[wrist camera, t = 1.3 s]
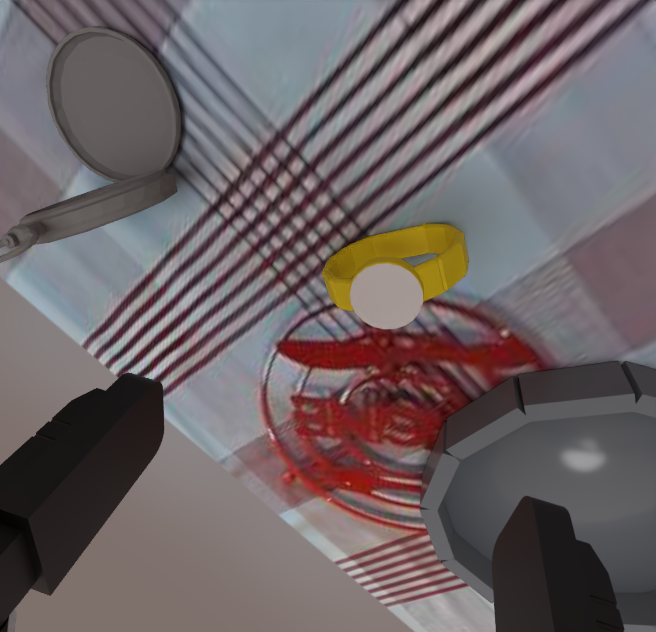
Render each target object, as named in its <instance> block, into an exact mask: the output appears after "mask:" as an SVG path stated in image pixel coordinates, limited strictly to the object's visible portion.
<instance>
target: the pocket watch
mask: <svg viewBox="0 0 656 632" xmlns="http://www.w3.org/2000/svg"><path fill="white" fill-rule="evenodd" d="M46 80H47V93H48V105H49V108H50V111H51V115H52V118H53V121H54V123H55V125H56V127H57V129H58V131H59V134H60V136H61V137H62V139H63V140H64V141H65V143H66V144H67V145H68V147H69V148H70V150H71V151H72V152H73V154H74V155H75V156H76V158H77V159H78V160H79V161H80V162H82V163H83V164H84V165H85V166H86V167H87V168H89V169H90V170H91V171H93V172H94V173H96V174H98V175H100V176H101V177H103V178H105V179H107V180H110V181H114V182H117V183H114V184H111V185H107V186H104V187H101V188H98V189H96V190H93V191H90V192H87V193H84V194H81V195H78V196H75V197H73V198H70V199H67V200H64V201H62V202H59V203H56V204H54V205H51V206H48V207H45V208H43V209H40V210H37V211H35V212H32V213H30V214H28V215H26V216H24V217H23V218H22V219H21V220H20V224H19V225H18V226H14V227H12V228H11V229H10V230H9V231H8V232H7V233H6V234H5V235H3V237H2V240H1V241H0V248H1V247H3V246H5V245H6V246H7V247H9V248H13V247H16V246H20V247H18V248H17V249H15V250H13V251H11V252H9V253H7V254H4V255H2V256H0V262H3V261H6V260H9V259H11V258H13V257H15V256H17V255H19V254H21V253H22V252H24V251H25V250H27V249H29V248H30V247H31V246H33V245H35V244H43V243H49V242H53V241H56V240H60V239H63V238H67V237H70V236H73V235H77V234H80V233H84V232H87V231H90V230H92V229H95V228H98V227H100V226H103V225H106V224H109V223H111V222H114V221H117V220H119V219H122V218H125V217H127V216H130V215H133V214H135V213H138V212H140V211H143V210H145V209H147V208H149V207H151V206H154V205H156V204H158V203H160V202H162V201H164V200H166V199H167V198H169V197H170V196H172V195H173V194H175V193H176V192H177V187H176V180H175V177H174V174H173V173H166V172H165V169H166V168H167V167H168V166H169V165H170V163H171V162H172V160H173V158H174V156H175V154H176V152H177V149H178V145H179V141H180V137H181V115H180V108H179V104H178V100H177V97H176V94H175V91H174V89H173V86H172V84H171V82H170V80H169V78H168V76H167V74H166V72H165V70H164V69H163V68H162V66H161V65H160V64H159V63H158V61H157V60H156V59H155V57H154V56H153V55H152V53H150V52H149V51H148V50H147V49H146V48H144V47H143V46H142V45H141V44H139V43H138V42H137V41H136V40H135V39H133V38H132V37H129V36H128V35H127V34H123V33H120V32H118V31H115V30H111V29H107V28H103V27H88V28H82V29H79V30H76V31H74V32H71V33H70V34H69V35H67V36H66V37H65V38H64V39H62V40H61V42H60V43H59V44H58V46H57V47H56V48H55V50H54V52H53V54H52V56H51V59H50V61H49V66H48V71H47V77H46Z"/></svg>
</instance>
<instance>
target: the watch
mask: <svg viewBox="0 0 656 632" xmlns="http://www.w3.org/2000/svg"><path fill="white" fill-rule="evenodd" d="M427 253H436V254H439V255H438V256H436V257H435V258H434V259H431V260H429V261H426V262H424V263H421V264H419V265H416V266H414V267H413V266H412V265H411V264H409V263H407V262H406V261H404V260H402V258H407V257H412V256H417V255H422V254H427ZM468 263H469V259H468V253H467V248H466V243H465V237H464V234H463V232H462V231H460V230H458V229H456V228H455V227H453V226H451V225H448V224H432V223H427V224H426V223H423V225H420V226H415V227H410V228H406V229H401V230H397V231H392V232H387V233H383V234H378V235H374V236H368V237H366V238H364V239H361V240H359V241H357V242H355V243H352V244H350V245H348V246H347V247H344V248H343V249H342V250H340V251H339V252H337V253H336V254H335V255H333V256H332V257H331V258H330V259H329V260H328V261H327V263H326V265H325V267H324V269H323V271H322V275H323V278H324V281H325V284H326V287H327V290H328V293H329V296H330V299H331V300H332V301H333V302H334V303H335V304H336V305H337V306H338V308H341V309H343V310H348V311H354V312H355V313H356V314H357V315H358V316H359V317H360V319H361V320H363V321H364V322H366V323H367V324H369V325H371V326H373V327H376V328H380V329H396V328H399V327H403V326H405V325H407V324H408V323H410V322H411V321H413V320H414V319H415V317H416V316H417V315H418V313H419V312H420V310H421V308H422V304H423V302H424V301H426V300H428V299H431V298H433V297H435V296H438V295H440V294H443V292H444V291H447V290H449V289H450V288H451V287H452V286H453V285H455V284H456V283H457V282H458V281H460V280H461V279H462V278H463V277H464V276H465V275H466V273H467V269H468ZM351 277H353V278H352V279H351Z"/></svg>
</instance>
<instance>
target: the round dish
mask: <svg viewBox="0 0 656 632" xmlns="http://www.w3.org/2000/svg"><path fill="white" fill-rule="evenodd" d="M518 376H519V381H520V383H519V382H518V381H517V380H516V379H515V378H514V377H511V378H509V379H508V380H506V381H505V382H503V383H501V384H500V385H498V386H497V387H495V388H493V389H492V390H490V391H489V392H487V393H486V394H484V395H482V396H481V397H479V398H478V399H476V400H475V401H473V402H471V403H470V404H468V405H467V406H465V407H464V408H462V409H460V410H459V411H457V412H456V413H454V414H453V415H451V416H449V417H448V418H447V422H445V421H444V423H443V425H442V428H441V430H440V432H439V435H438V437H437V440H436V442H435V445H434V447H433V449H432V452H431V454H430V457H429V459H428V462H427V464H426V466H425V469H424V471H423V476H422V487H421V498H420V512H421V515H422V517H423V520H424V523H425V525H426V528H427V531H428V533H429V536H430V539H431V541H432V544H433V547H434V549H435V552H436V555H437V557H438V560H441V564H443V565H444V566H445V567H446V568H448V569H449V570H450V571H451V572H453V573H454V574H455V575H456V576H458V577H459V578H460V579H461V580H463V581H464V582H465V583H466V584H468V585H469V586H470V587H471V588H473V589H474V590H475V591H477V592H478V593H479V594H480V595H482V596H483V597H484V598H485V599H487V600H488V601H489V602H490V603H493V602H494V594H493V579H492V556H493V550H494V546H495V543H496V540H497V538H498V536H499V534H500V533H501V531H502V530H503V528H504V526H505V525H506V523H507V521H508V520H509V518H510V517H511V515H512V513H513V512H514V510H515V508H516V507H517V505H518V504H519V502H520V500H521V499H522V498H523V497H524V496H530V497H533V498H537V499H540V500H543V501H546V502H550V503H553V504H556V505H560V506H563V507H565V508H566V509H567V510H568V512H569V514H570V517H571V521H572V525H573V529H574V533H575V537H576V540H579V541H583V542H586V543H589V544H590V545H591V546H592V548H593V550H594V551H595V553H596V554H597V556H598V557H599V559H600V561H601V562H602V564H603V565H604V567H605V568H606V570H607V572H608V573H609V577H610V580H611V584H612V587H613V591H614V594H615V598H616V601H617V605H616V607H617V609H619V611H620V615H621V618H622V622H623V625H624V628H625V630H624V632H656V370H655V369H652V368H648V367H644V366H640V365H637V364H633V363H629V362H625V363H624V364H623V366H622V368H621V366H620V364H619V362H618V361H615V362H607V363H600V364H593V365H585V366H578V367H570V368H563V369H555V370H548V371H540V372H533V373H525V374H518Z"/></svg>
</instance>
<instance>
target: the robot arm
mask: <svg viewBox="0 0 656 632" xmlns="http://www.w3.org/2000/svg"><path fill="white" fill-rule="evenodd" d="M163 434H164V407H163V386H162V384H161V383H160V382H158V381H155V380H152V379H149V378H145V377H142V376H139V375H136V374H132V373H125V374H123V375H122V376H121V377H119V378H118V379H117V380H116V381H115V382H114V383H113V384H112V386H110V387H109V388H108V389H107V390H106V391H104V390H101V389H98V388H96V389H94V390H92V391H90V392H88V393H86V394H84V395H82V396H80V397H78V398H76V399H74V400H72V401H71V402H69V403H68V404H67V405H66V406H65V407H64V408H63V409H62V410H61V411H60V412H58V413H57V414H56V415H55V416H54V417H53V418H52V421H51V422H47V423H46V424H45V425H44V426H43V427H42V428H41V429H40V430H39V431H37V433H36V435H35V436H34V437H31V438H30V439H29V440H28V441H27V442H25V443H24V444H23V445H22V446H21V447H20V448H19V449H18V450H17V451H15V452H14V453H13V454H12V455H11V456H10V457H9V458H8V459H7V460H5V461H4V462H3V463H2V464H1V465H0V632H14V631H15V622H16V606H17V605H18V604H19V603H20V601H21V600H22V599H23V598H24V596H25V595H26V594H27V593H28V591H29V590H30V589H34V590H36V591H39V592H42V593H44V594H47V595H51V594H52V593H53V592H54V590H55V589H56V588H57V586H58V585H59V583H60V582H61V581H62V580H63V578H64V577H65V576H66V574H67V573H68V572H69V570H70V569H71V567H72V566H73V565H74V563H75V562H76V561H77V560H78V558H79V557H80V556H81V554H82V553H83V551H84V550H85V549H86V547H87V546H88V545H89V543H90V542H91V541H92V539H93V538H94V536H95V535H96V534H97V533H98V531H99V530H100V528H101V527H102V526H103V525H104V523H105V522H106V521H107V519H108V518H109V517H110V515H111V514H112V513H113V511H114V510H115V509H116V507H117V506H118V505H119V503H120V502H121V501H122V499H123V498H124V496H125V495H126V494H127V492H128V491H129V490H130V488H131V487H132V486H133V484H134V483H135V482H136V480H137V479H138V478H139V476H140V475H141V474H142V472H143V471H144V470H145V468H146V467H147V466H148V464H149V463H150V462H151V460H152V459H153V457H154V456H155V454H156V453H157V451H158V449H159V447H160V444H161V442H162V439H163ZM492 579H493V594H494V609H495V624H496V632H624V630H625V628H624V625H623V622H622V618H621V615H620V611H619V609H617V607H616V605H617V601H616V598H615V594H614V591H613V587H612V584H611V580H610V577H609V573H608V572H607V570H606V568H605V567H604V565H603V564H602V562H601V561H600V559H599V557H598V556H597V554H596V553H595V551H594V550H593V548H592V546H591V545H590V544H589V543H586V542H583V541H579V540H576V537H575V533H574V529H573V525H572V521H571V517H570V514H569V512H568V510H567V509H566V508H565V507H563V506H560V505H556V504H553V503H550V502H546V501H543V500H540V499H537V498H533V497H530V496H524V497H523V498H522V499H521V500H520V502H519V504H518V505H517V507H516V508H515V510H514V512H513V513H512V515H511V517H510V518H509V520H508V521H507V523H506V525H505V526H504V528H503V530H502V531H501V533H500V534H499V536H498V538H497V540H496V543H495V546H494V550H493V556H492Z"/></svg>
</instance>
